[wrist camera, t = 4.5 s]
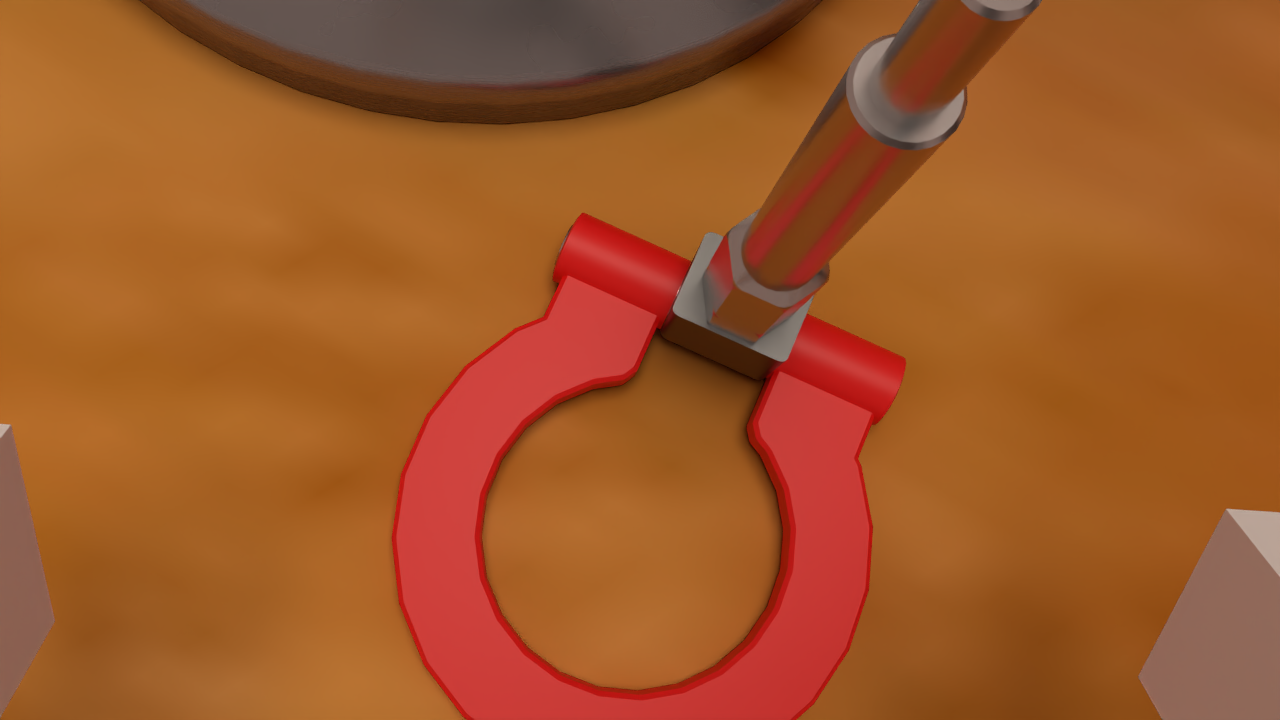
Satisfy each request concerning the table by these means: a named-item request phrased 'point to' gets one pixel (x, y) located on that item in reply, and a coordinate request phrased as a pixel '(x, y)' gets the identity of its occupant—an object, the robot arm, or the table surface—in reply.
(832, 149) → the tow hook
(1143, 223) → the table surface
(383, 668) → the table surface
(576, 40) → the dark grey plate
